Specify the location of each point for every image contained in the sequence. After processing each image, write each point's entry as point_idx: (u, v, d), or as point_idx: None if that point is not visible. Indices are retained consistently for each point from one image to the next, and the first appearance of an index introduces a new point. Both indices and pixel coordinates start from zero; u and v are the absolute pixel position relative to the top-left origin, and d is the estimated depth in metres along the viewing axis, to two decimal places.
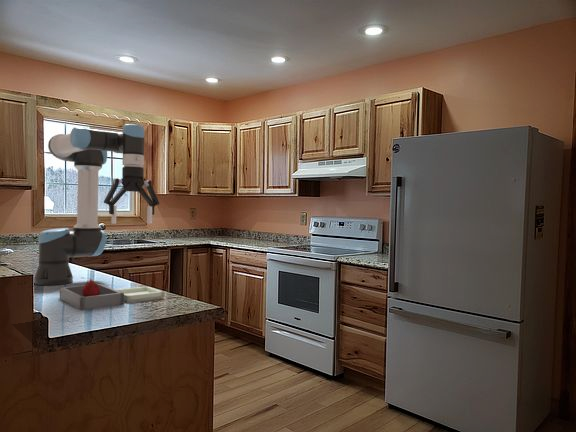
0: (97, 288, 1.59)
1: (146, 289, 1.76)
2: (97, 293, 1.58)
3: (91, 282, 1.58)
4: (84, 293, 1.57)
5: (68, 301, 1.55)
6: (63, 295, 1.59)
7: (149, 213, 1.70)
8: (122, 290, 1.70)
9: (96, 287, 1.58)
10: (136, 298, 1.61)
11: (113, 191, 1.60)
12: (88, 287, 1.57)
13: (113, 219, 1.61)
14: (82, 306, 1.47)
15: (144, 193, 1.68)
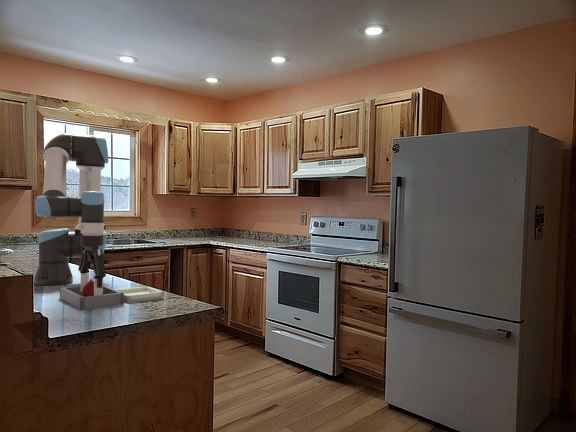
0: None
1: (146, 289, 1.76)
2: None
3: (91, 282, 1.58)
4: (84, 293, 1.57)
5: (68, 301, 1.55)
6: (63, 295, 1.59)
7: None
8: (122, 290, 1.70)
9: None
10: (136, 298, 1.61)
11: (80, 259, 1.64)
12: (88, 287, 1.57)
13: None
14: (82, 306, 1.47)
15: (92, 263, 1.55)
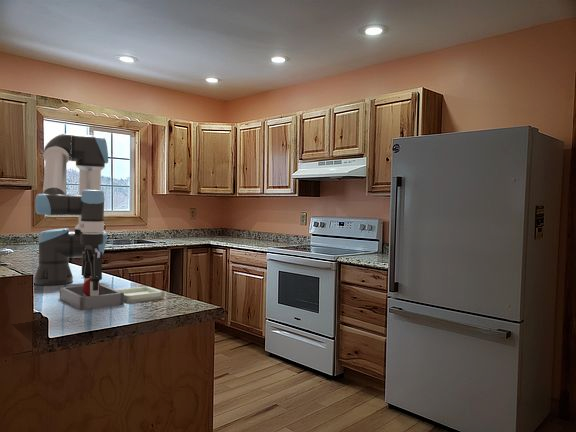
0: None
1: (146, 289, 1.76)
2: None
3: (91, 279, 1.59)
4: (84, 290, 1.57)
5: (68, 301, 1.55)
6: (63, 295, 1.59)
7: None
8: (122, 290, 1.70)
9: None
10: (136, 298, 1.61)
11: (82, 262, 1.63)
12: (88, 284, 1.57)
13: None
14: (82, 306, 1.47)
15: (90, 264, 1.57)
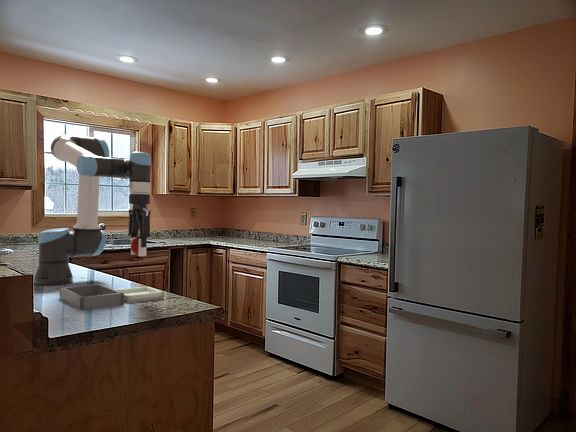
0: None
1: (146, 289, 1.76)
2: None
3: None
4: (133, 247, 1.65)
5: (68, 301, 1.55)
6: (63, 295, 1.59)
7: None
8: (122, 290, 1.70)
9: None
10: (136, 298, 1.61)
11: (129, 222, 1.71)
12: (137, 242, 1.65)
13: None
14: (82, 306, 1.47)
15: (139, 222, 1.65)
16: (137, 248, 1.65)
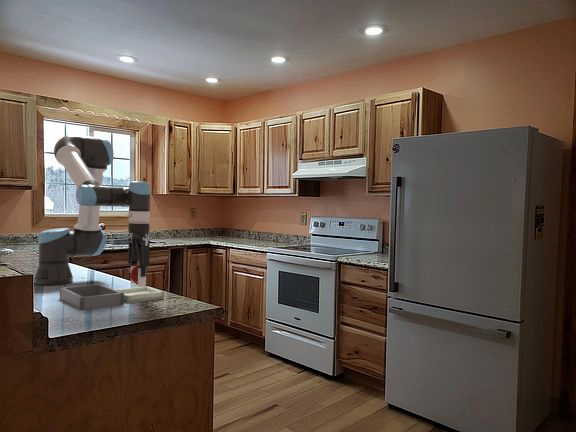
0: None
1: (146, 289, 1.76)
2: None
3: (138, 266, 1.67)
4: (132, 276, 1.65)
5: (68, 301, 1.55)
6: (63, 295, 1.59)
7: None
8: (122, 290, 1.70)
9: None
10: (136, 298, 1.61)
11: (129, 251, 1.71)
12: (136, 271, 1.65)
13: None
14: (82, 306, 1.47)
15: (138, 251, 1.65)
16: (137, 277, 1.65)
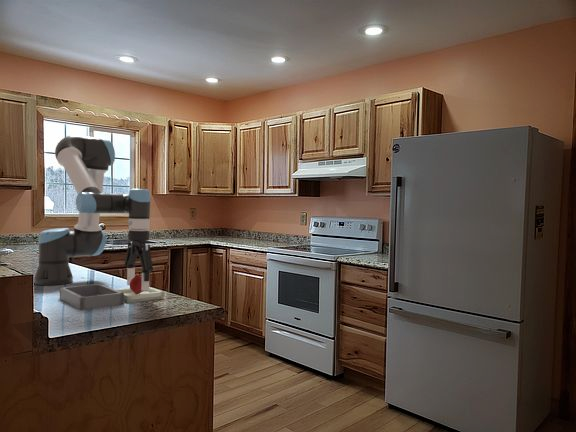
0: None
1: None
2: None
3: (138, 276, 1.67)
4: (132, 287, 1.66)
5: (68, 301, 1.55)
6: (63, 295, 1.59)
7: None
8: (122, 290, 1.70)
9: None
10: (136, 298, 1.61)
11: (127, 254, 1.72)
12: (135, 281, 1.66)
13: None
14: (82, 306, 1.47)
15: (139, 257, 1.64)
16: (136, 287, 1.65)
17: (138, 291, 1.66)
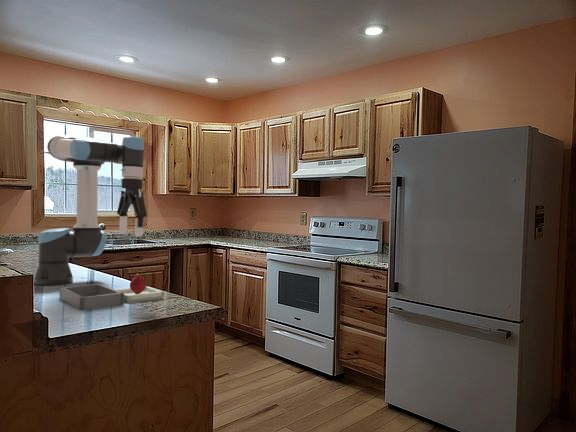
0: (144, 282, 1.67)
1: (146, 289, 1.76)
2: (144, 287, 1.67)
3: (138, 276, 1.67)
4: (132, 287, 1.66)
5: (68, 301, 1.55)
6: (63, 295, 1.59)
7: None
8: (122, 290, 1.70)
9: (143, 281, 1.67)
10: (136, 298, 1.61)
11: (119, 203, 1.73)
12: (136, 281, 1.66)
13: None
14: (82, 306, 1.47)
15: (133, 204, 1.65)
16: (136, 288, 1.65)
17: (138, 291, 1.66)
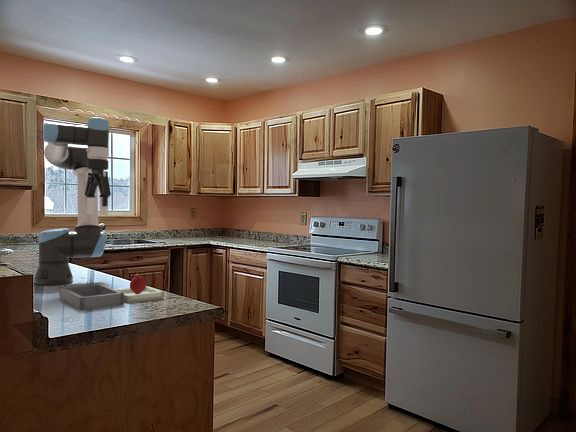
0: (143, 282, 1.67)
1: (146, 289, 1.76)
2: (144, 287, 1.67)
3: (138, 276, 1.67)
4: (132, 287, 1.66)
5: (68, 301, 1.55)
6: (63, 295, 1.59)
7: None
8: (122, 290, 1.70)
9: (143, 281, 1.67)
10: (136, 298, 1.61)
11: (87, 184, 1.75)
12: (136, 281, 1.66)
13: None
14: (82, 306, 1.47)
15: (98, 184, 1.67)
16: (136, 288, 1.65)
17: (138, 291, 1.66)
